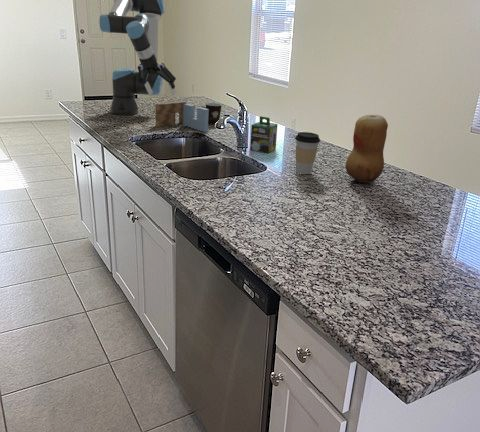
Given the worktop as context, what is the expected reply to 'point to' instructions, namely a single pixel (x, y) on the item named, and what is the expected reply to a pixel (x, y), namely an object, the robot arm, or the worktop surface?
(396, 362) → the worktop surface
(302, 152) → the coffee cup
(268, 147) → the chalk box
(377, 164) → the butternut squash
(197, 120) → the slate-blue board
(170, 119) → the walnut board
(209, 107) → the coffee mug
